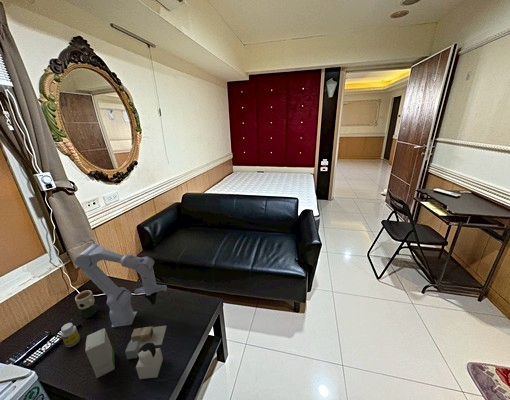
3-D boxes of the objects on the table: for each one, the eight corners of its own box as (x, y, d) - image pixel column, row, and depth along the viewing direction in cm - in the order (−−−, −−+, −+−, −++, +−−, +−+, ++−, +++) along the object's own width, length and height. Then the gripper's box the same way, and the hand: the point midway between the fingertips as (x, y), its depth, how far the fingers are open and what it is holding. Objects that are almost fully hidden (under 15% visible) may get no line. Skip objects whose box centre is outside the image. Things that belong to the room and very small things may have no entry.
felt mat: (126, 350, 95) (126, 349, 95) (135, 330, 105) (135, 329, 104) (161, 344, 97) (161, 344, 97) (166, 325, 107) (166, 325, 106)
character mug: (76, 316, 113) (68, 297, 108) (90, 306, 119) (83, 287, 115) (90, 322, 109) (83, 302, 105) (103, 311, 116) (97, 292, 111)
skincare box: (114, 369, 88) (105, 342, 82) (95, 379, 84) (84, 352, 79) (114, 352, 94) (105, 326, 89) (96, 361, 91) (86, 335, 86)
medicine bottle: (146, 360, 91) (140, 340, 87) (163, 359, 91) (158, 339, 87) (139, 379, 84) (132, 358, 80) (157, 377, 85) (152, 356, 81)
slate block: (127, 359, 91) (124, 351, 90) (131, 350, 95) (128, 342, 93) (137, 358, 92) (134, 350, 90) (140, 349, 96) (138, 341, 94)
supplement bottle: (64, 349, 96) (57, 333, 93) (67, 339, 101) (60, 324, 97) (78, 344, 98) (72, 328, 95) (81, 334, 103) (75, 319, 100)
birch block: (151, 340, 99) (132, 342, 98) (153, 332, 103) (136, 334, 102) (149, 333, 98) (131, 336, 97) (152, 326, 102) (134, 328, 101)
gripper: (129, 288, 98) (135, 311, 103) (162, 285, 100) (166, 307, 105) (135, 278, 105) (140, 300, 109) (166, 275, 107) (170, 296, 111)
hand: (153, 302), depth 107 cm, fingers closed
